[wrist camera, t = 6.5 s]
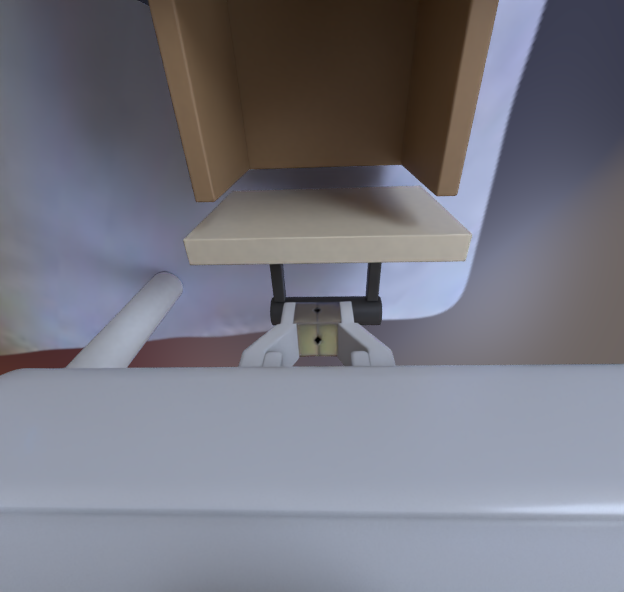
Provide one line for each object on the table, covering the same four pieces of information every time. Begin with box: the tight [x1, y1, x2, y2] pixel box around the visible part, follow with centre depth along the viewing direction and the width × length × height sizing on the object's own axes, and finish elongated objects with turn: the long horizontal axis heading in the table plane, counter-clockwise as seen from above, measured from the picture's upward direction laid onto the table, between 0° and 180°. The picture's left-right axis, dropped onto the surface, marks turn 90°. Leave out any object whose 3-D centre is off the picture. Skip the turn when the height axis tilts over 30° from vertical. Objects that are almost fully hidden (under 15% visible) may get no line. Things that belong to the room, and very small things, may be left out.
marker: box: [65, 272, 183, 368], centre depth 19 cm, size 3×3×14 cm
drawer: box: [148, 0, 499, 325], centre depth 14 cm, size 19×12×8 cm, turn 2°
